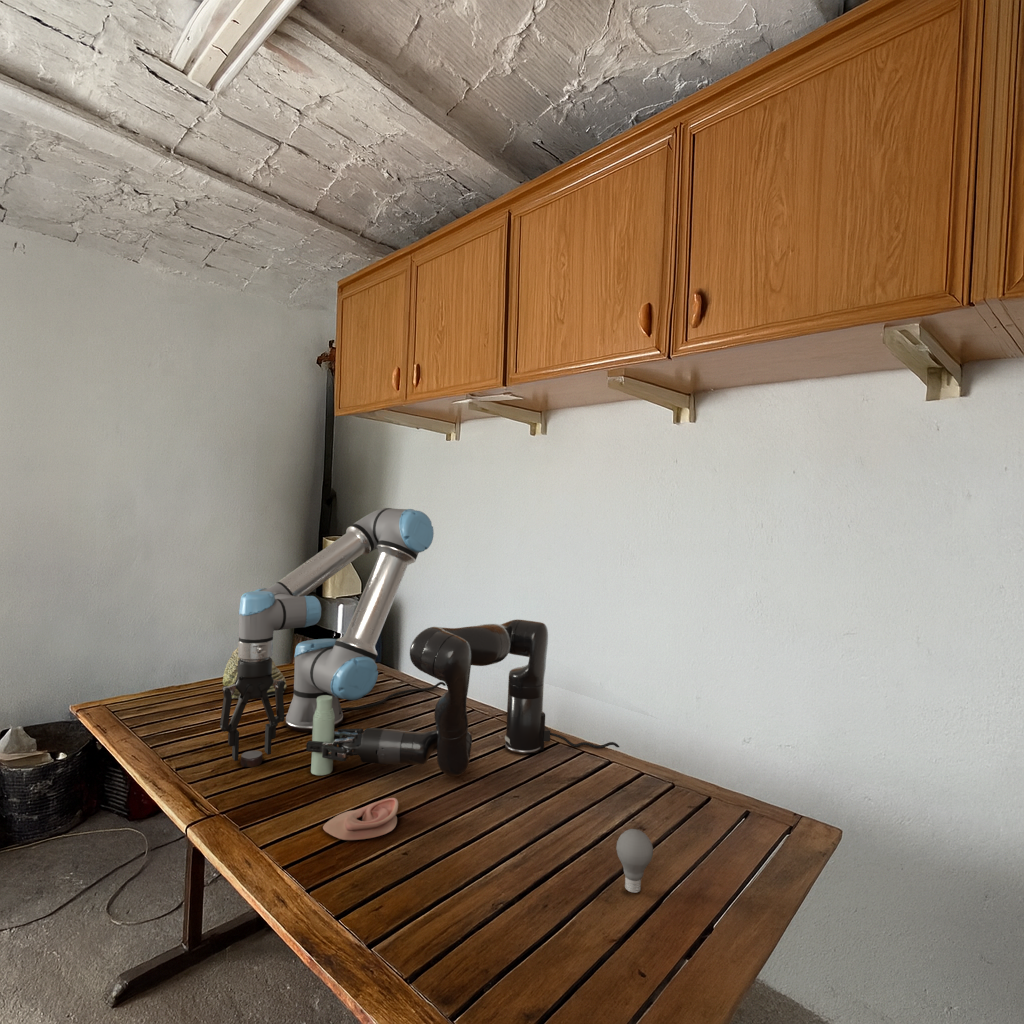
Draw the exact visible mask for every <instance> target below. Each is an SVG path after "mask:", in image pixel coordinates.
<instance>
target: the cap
mask: <svg viewBox="0 0 1024 1024" xmlns="http://www.w3.org/2000/svg"><path fill="white" fill-rule="evenodd" d="M263 758H264V757H263V752H262V751H260V750H248V751H245V752H242V754H241V756H240V765H241V767H244V768H255V767H257V766H260V765H262V763H263Z"/></svg>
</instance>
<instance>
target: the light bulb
mask: <svg viewBox="0 0 1024 1024" xmlns="http://www.w3.org/2000/svg"><path fill="white" fill-rule="evenodd" d="M615 849H616V854H617V857H618V859H619V861H620V863H621V865H622V867H623V873H624V874H623V875H624V876H625V878H624V888H625V890H627V891H628V892H630V893H634V894H635V893H639V892H640V891H641V889H642V887H641V886H642V879H643V877H644V875H645V871H646V868H647V867H648V866H649V864H650V863H651V861H652V859H653V855H654V847H653V843H652V841H651V838H649V836H648V835H647V834H646V833H645V832H643V831H642V830H641V829H636V828H629V829H627V830H625V831H623V832H622V833H621V834H620V835H619V837H618V839H617V841H616V847H615Z"/></svg>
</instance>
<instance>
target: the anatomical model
mask: <svg viewBox="0 0 1024 1024" xmlns="http://www.w3.org/2000/svg"><path fill="white" fill-rule="evenodd" d="M398 809H399V801H398V799H397V798H396V797H389V798H388V797H387V798H383V799H381V800H378V801H375V802H372V803H369V804H367V805H365V806H363V807H360V808H357V809H353V810H352V809H351V810H348V811H344V812H341V813H340V814H337V815H336V816H333V818H330V819H329V820H328V821H327V822H325V823H324V824H323V826H322V830H323V831H324V832H325V833H326V834H329V835H330V836H332V837H334V838H337V839H339V840H342V841H358V840H359V841H360V840H366V839H373V838H377V837H380V836H383V835H386V834H388V833H390V832H392V831H393V830H394V829H395V828H396V826H397V824H398V817H397V813H398Z"/></svg>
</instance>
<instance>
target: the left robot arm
mask: <svg viewBox="0 0 1024 1024" xmlns="http://www.w3.org/2000/svg"><path fill="white" fill-rule="evenodd" d="M434 534H435V533H434V526H433V524H432V520H431V519H430V517H429V516H428V515H427V514H426V513H424V512H423V511H421V510H418V509H417V510H416V509H413V508H394V507H393V508H392V507H383V508H379V509H377V510H374V511H372V512H370V513H368V514H367V515H365V516H363V517H362V518H359V520H357V521H355V522H354V523H353V524H351V525H350V526H348V527H347V528H346V531H345V534H343V535H342V536H340V537H338V538H337V539H336V540H335V541H332V543H330V544H329V545H328V546H326V547H325V548H323V549H322V550H320V551H319V552H318V553H316V554H315V555H313V556H312V557H310V558H309V559H307V560H306V561H305V562H303V563H302V564H301V565H299V566H298V567H297V568H295V569H294V570H292V571H291V572H289V573H287V574H286V575H285V576H284V577H282V578H281V579H279V580H278V581H276V582H275V583H273V584H272V585H270V586H269V587H267V588H265V587H264V588H257V589H255V590H253V591H247V592H244V593H243V594H242V595H241V596H240V602H239V610H238V615H239V618H238V642H237V643H238V646H237V648H238V657H239V658H240V659H239V660H238V668H237V680H236V682H235V684H233V685H230V686H224V685H223V686H222V689H221V690H222V694H223V701H222V707H221V714H220V722H219V728H220V729H221V731H222V732H226V733H227V744H228V746H229V747H232V748H231V758H232V759H233V761H234V762H237V761H239V751H240V749H239V748H240V732H239V730H238V729H237V728H238V727H239V723H240V721H241V719H242V716H243V713H244V711H245V709H246V706H247V704H248V702H249V700H253V699H260V701H261V702H262V705H263V708H264V711H265V714H266V717H267V720H268V723H265V726H264V727H265V729H264V730H265V731H264V732H265V733H264V752H265V753H266V755H267V756H269V755H272V740H273V739H276V737H277V727H278V724H280V723H283V722H284V721H285V726H286V728H287V729H289V730H291V731H294V732H295V731H296V732H301V733H312V732H313V715H314V713H315V711H316V708H317V701H316V700H317V697H319V696H322V695H329V696H332V699H333V700H332V708H333V712H334V716H335V722H334V729H335V728H337V727H339V726H340V725H342V723H343V722H344V714H343V711H344V712H345V711H357V710H364V709H369V708H373V707H377V706H380V705H382V704H384V703H385V702H387V700H389V699H390V698H391V699H392V698H393V697H395V696H399V695H403V694H409V693H415V692H424V691H432V690H434V689H436V688H438V687H439V686H441V685H442V686H445V687H447V685H446V683H445V682H444V681H438V682H437V683H436V684H434V685H433V686H430V687H422V688H421V687H420V688H411V689H406V690H400V691H397V692H394V693H391V694H389V695H387V696H386V697H384V698H383V699H382V700H380V701H377V702H374V703H371V704H366V705H360V706H350V707H349V706H348V707H347V706H346V707H342V706H341V702H340V699H341V700H346V701H358V700H360V699H362V698H363V697H365V696H367V695H368V694H370V692H371V691H372V690H373V689H374V687H375V685H376V683H377V681H378V677H379V670H378V665H377V663H376V661H377V660H376V659H377V657H378V651H377V650H376V645H377V642H378V640H379V637H380V635H381V633H382V630H383V627H384V625H385V622H386V621H387V617H388V615H389V613H390V610H391V608H392V606H393V603H394V601H395V598H396V595H397V593H398V591H399V589H400V586H401V583H402V581H403V579H404V576H405V573H406V571H407V568H408V566H409V565H412V564H414V563H416V561H417V558H418V556H419V553H423V552H425V551H426V550H428V549H429V548H430V547H431V545H432V543H433V541H434ZM375 550H377V552H378V555H377V558H376V561H375V563H374V565H373V568H372V570H371V572H370V575H369V577H368V580H367V582H366V584H365V587H364V589H363V592H362V594H361V595H360V598H359V601H358V603H357V605H356V608H355V610H354V612H353V614H352V617H351V619H350V622H349V624H348V627H347V629H346V631H345V633H344V635H342V636H341V637H339V638H318V639H308V640H304V641H300V642H299V643H297V644H296V646H295V650H294V655H293V657H294V672H293V673H294V674H293V695H292V696H293V697H292V699H291V702H290V704H289V708H288V711H287V713H286V714H285V705H284V704H285V702H284V692H283V689H284V685H285V682H284V681H283V680H282V679H278V680H276V679H273V678H272V660H273V658H272V656H273V650H274V649H273V648H274V646H273V645H274V644H273V643H274V632H275V631H281V630H290V629H299V628H307V627H310V626H315V625H316V624H318V623H319V621H320V620H321V617H322V605H321V602H320V600H319V599H318V598H317V597H316V596H314V595H309V594H310V593H312V592H313V591H315V590H316V589H317V588H318V587H320V586H321V585H323V584H324V583H325V582H326V581H328V580H329V579H331V578H332V577H333V576H335V575H336V574H338V573H339V572H340V571H341V570H343V569H344V568H346V567H347V566H348V565H349V564H351V563H353V561H355V560H356V559H357V558H358V557H361V555H365V556H366V555H369V554H370V553H371V552H373V551H375ZM272 684H273V687H274V688H275V695H274V697H275V700H274V701H275V712H276V713H274V710H273V707H272V704H271V702H270V698H269V697H270V696H268V694H267V691H268V690H269V688H270V687H271V686H272ZM235 689H237V690H238V691H239V692H240V696H239V698H237V699H238V700H237V702H236V706H235V708H234V711H233V713H232V716H231V707H232V700H233V698H232V696H231V695H233V694H234V690H235ZM275 714H276V715H275ZM230 716H231V718H230Z"/></svg>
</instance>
